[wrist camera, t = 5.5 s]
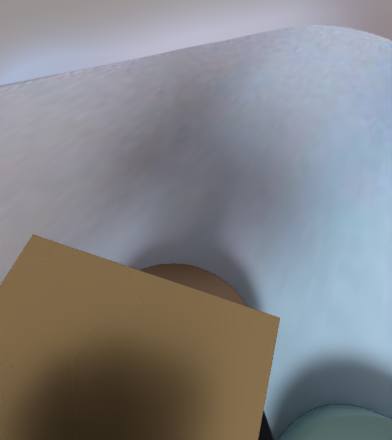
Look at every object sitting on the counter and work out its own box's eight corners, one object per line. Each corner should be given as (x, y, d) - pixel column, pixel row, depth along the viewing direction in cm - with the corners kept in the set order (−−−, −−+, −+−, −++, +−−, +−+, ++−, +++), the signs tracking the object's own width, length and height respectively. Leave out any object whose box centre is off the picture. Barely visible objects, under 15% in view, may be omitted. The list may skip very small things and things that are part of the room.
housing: (194, 461, 11) (185, 842, 3) (80, 411, 12) (-198, 594, 3) (227, 328, 13) (280, 317, 5) (130, 294, 14) (32, 234, 6)
